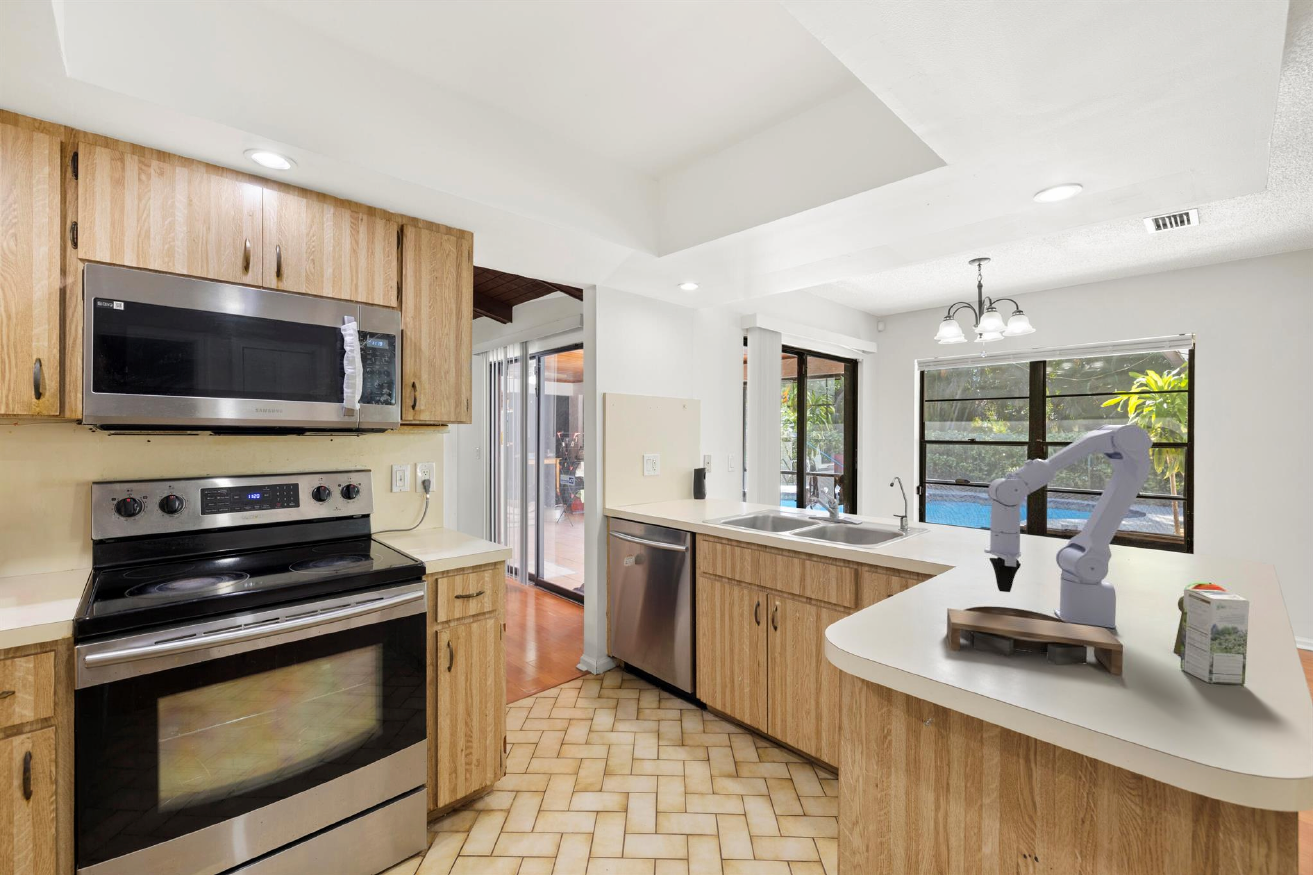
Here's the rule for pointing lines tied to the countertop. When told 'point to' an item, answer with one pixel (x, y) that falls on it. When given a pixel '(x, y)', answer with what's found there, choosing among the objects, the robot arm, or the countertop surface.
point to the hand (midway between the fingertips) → (1004, 591)
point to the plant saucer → (1021, 642)
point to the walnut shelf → (1036, 637)
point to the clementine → (1206, 586)
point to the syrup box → (1214, 636)
